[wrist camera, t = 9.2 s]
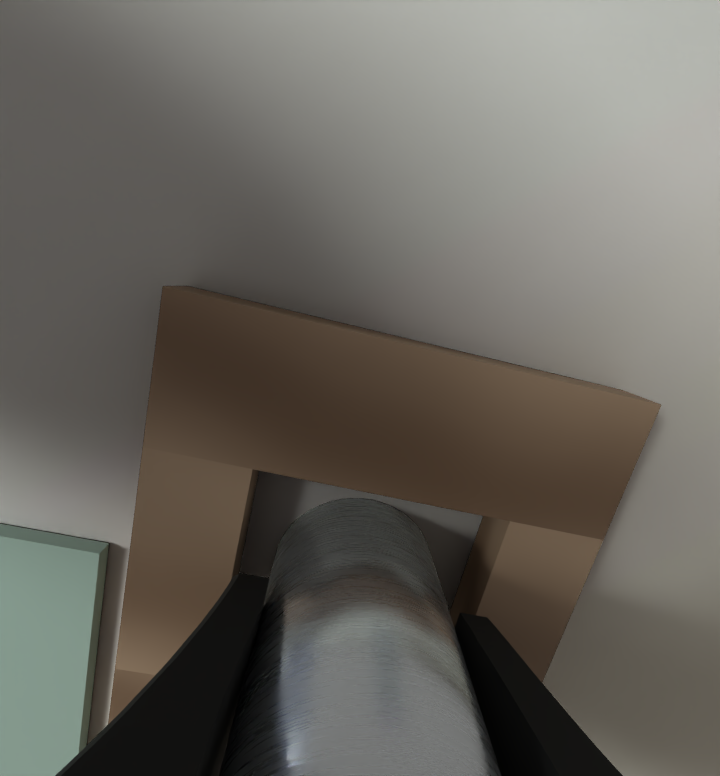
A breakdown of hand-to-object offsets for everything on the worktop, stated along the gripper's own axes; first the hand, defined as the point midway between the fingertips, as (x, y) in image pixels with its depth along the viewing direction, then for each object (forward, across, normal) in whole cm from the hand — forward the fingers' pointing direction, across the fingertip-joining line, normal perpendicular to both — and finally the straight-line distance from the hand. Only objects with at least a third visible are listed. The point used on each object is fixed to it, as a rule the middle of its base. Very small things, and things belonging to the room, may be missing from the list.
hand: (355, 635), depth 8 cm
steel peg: (+2, 0, 0) cm, 2 cm away
